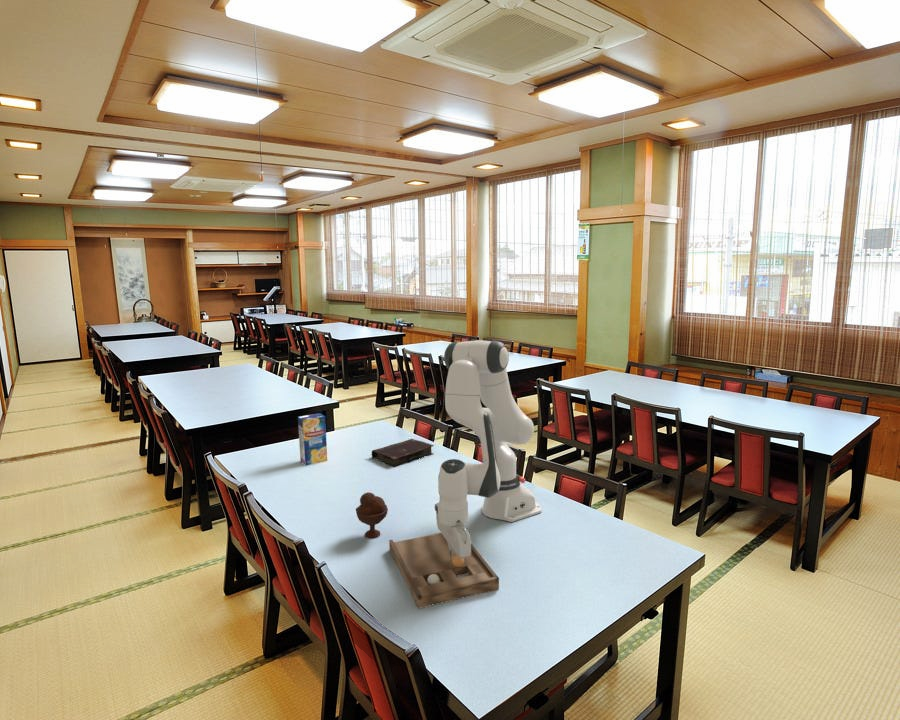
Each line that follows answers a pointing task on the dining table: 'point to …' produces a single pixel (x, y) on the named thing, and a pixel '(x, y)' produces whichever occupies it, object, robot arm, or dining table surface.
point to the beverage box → (312, 439)
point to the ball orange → (457, 561)
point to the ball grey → (433, 579)
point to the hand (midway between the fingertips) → (453, 556)
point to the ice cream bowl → (371, 513)
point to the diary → (402, 452)
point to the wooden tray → (440, 570)
